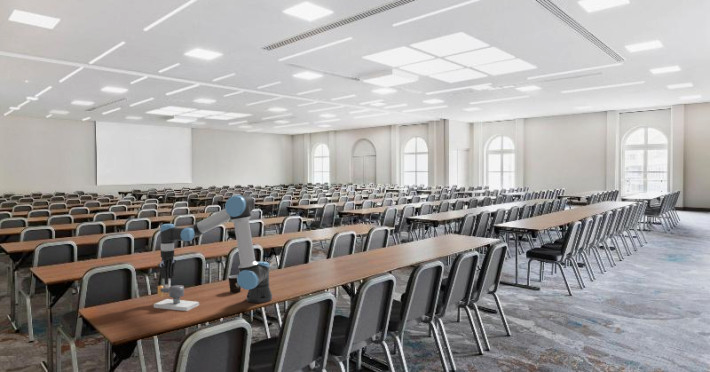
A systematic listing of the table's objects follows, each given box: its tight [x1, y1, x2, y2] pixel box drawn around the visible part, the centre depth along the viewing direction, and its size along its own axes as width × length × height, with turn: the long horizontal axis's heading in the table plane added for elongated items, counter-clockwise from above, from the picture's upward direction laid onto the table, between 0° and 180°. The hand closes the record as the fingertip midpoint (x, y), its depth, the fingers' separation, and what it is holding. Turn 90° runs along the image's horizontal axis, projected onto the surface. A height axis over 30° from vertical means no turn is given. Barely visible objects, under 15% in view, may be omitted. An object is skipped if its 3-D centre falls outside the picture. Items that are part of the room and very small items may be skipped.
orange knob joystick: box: [157, 284, 185, 299], centre depth 253 cm, size 16×8×6 cm, turn 74°
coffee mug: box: [228, 274, 242, 294], centre depth 284 cm, size 12×9×10 cm
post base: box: [153, 297, 200, 312], centre depth 252 cm, size 22×11×6 cm, turn 74°
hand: (167, 289), depth 261 cm, fingers closed
